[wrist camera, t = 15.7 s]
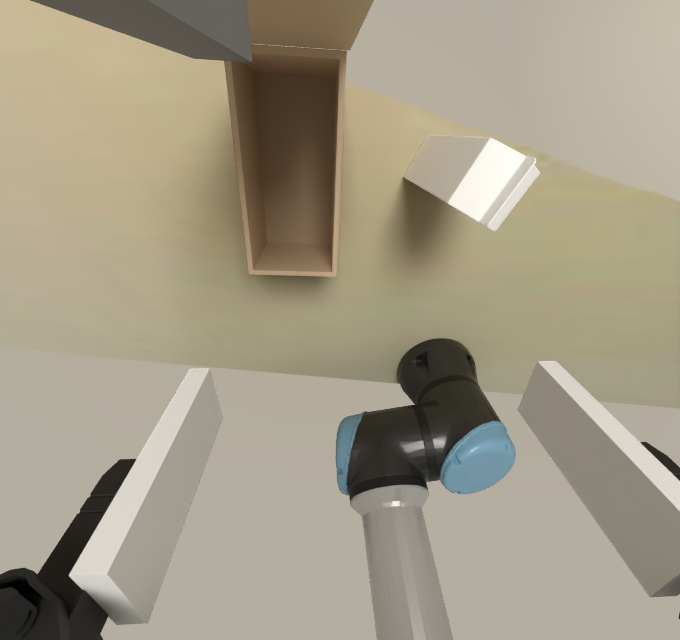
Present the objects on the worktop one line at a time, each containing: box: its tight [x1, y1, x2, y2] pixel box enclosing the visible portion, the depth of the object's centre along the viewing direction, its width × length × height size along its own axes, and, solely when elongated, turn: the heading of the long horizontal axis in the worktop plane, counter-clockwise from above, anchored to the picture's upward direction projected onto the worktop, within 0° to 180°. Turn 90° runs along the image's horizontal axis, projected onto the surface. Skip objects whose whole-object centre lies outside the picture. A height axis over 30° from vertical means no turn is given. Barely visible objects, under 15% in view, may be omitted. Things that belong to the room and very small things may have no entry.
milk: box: [404, 135, 540, 232], centre depth 35 cm, size 6×6×22 cm
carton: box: [224, 44, 347, 277], centre depth 39 cm, size 22×11×12 cm, turn 177°
